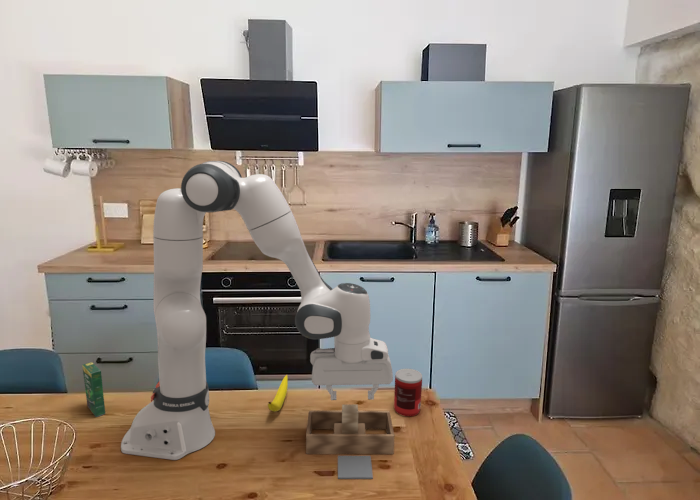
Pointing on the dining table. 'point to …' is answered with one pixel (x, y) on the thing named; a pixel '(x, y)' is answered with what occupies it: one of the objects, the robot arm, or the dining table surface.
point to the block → (349, 419)
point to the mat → (354, 467)
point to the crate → (349, 442)
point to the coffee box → (94, 389)
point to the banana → (279, 396)
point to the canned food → (407, 392)
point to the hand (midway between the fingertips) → (352, 398)
